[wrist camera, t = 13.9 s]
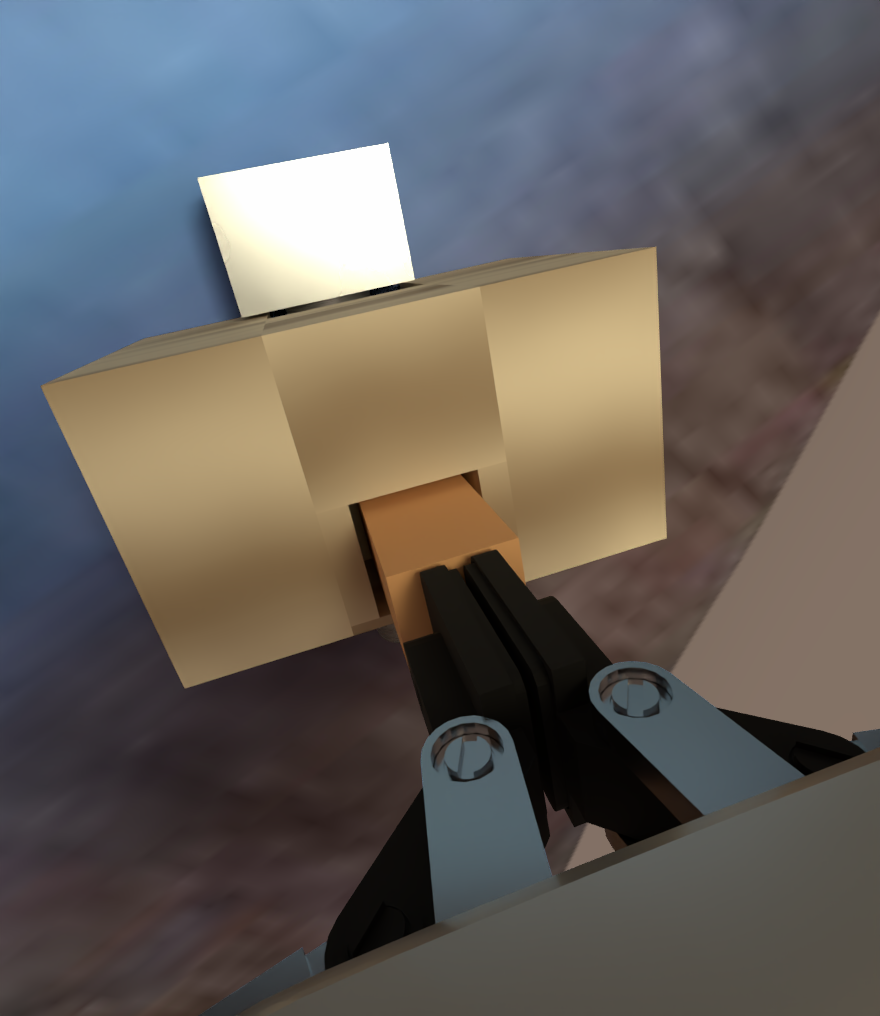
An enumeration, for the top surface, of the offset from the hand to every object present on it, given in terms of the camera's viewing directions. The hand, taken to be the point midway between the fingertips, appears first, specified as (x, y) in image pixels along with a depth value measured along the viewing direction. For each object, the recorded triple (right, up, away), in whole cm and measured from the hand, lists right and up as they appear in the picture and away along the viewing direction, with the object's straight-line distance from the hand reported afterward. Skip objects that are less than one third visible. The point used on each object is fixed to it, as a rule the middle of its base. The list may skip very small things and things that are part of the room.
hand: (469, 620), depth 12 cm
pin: (-4, +5, +12) cm, 14 cm away
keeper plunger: (-2, +3, +6) cm, 7 cm away
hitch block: (-4, +7, +11) cm, 14 cm away
